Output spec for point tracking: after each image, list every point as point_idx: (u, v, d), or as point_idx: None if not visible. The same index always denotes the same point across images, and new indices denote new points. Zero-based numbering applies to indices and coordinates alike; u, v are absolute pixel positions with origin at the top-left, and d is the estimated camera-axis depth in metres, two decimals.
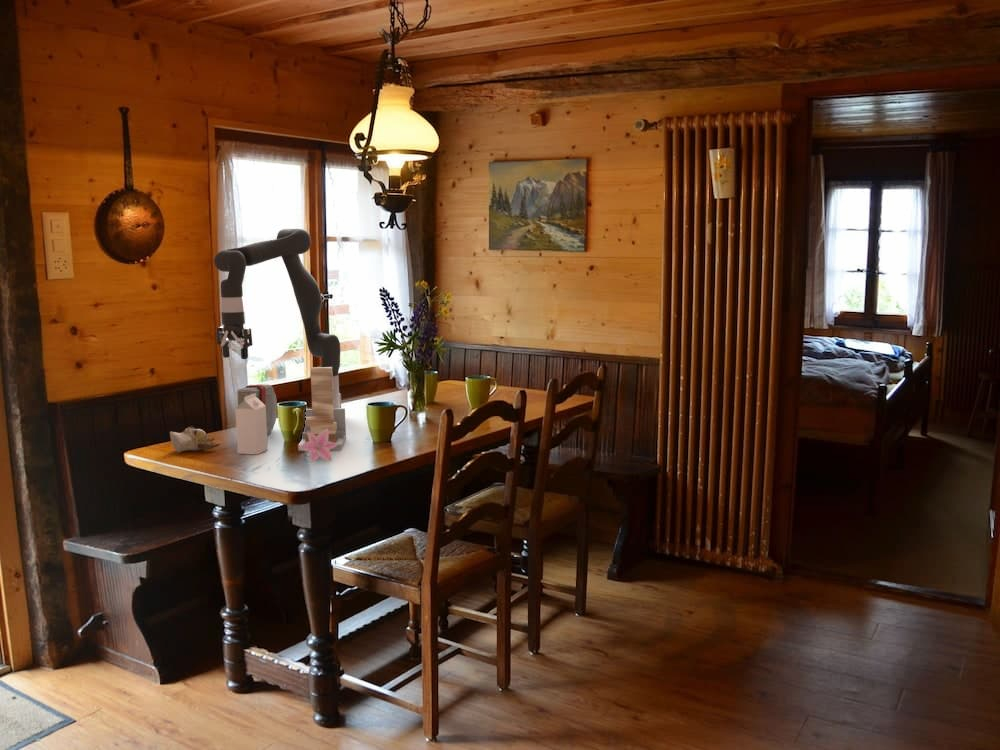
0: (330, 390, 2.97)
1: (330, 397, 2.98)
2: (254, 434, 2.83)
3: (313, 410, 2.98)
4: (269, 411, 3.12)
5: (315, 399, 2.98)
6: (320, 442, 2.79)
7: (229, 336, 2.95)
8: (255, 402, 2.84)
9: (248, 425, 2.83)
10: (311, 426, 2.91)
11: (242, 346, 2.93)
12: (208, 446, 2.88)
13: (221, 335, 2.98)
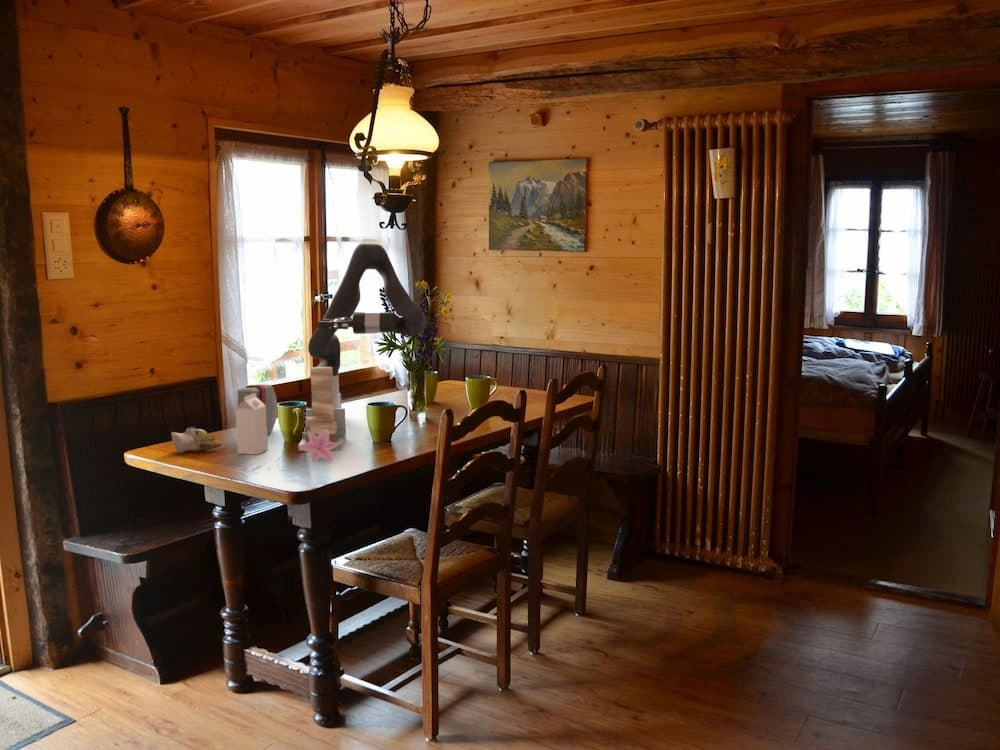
0: (330, 390, 2.97)
1: (330, 397, 2.98)
2: (254, 434, 2.83)
3: (313, 410, 2.98)
4: (269, 411, 3.12)
5: (315, 399, 2.98)
6: (321, 442, 2.79)
7: None
8: (255, 402, 2.84)
9: (248, 425, 2.83)
10: (311, 426, 2.91)
11: None
12: (210, 446, 2.88)
13: None
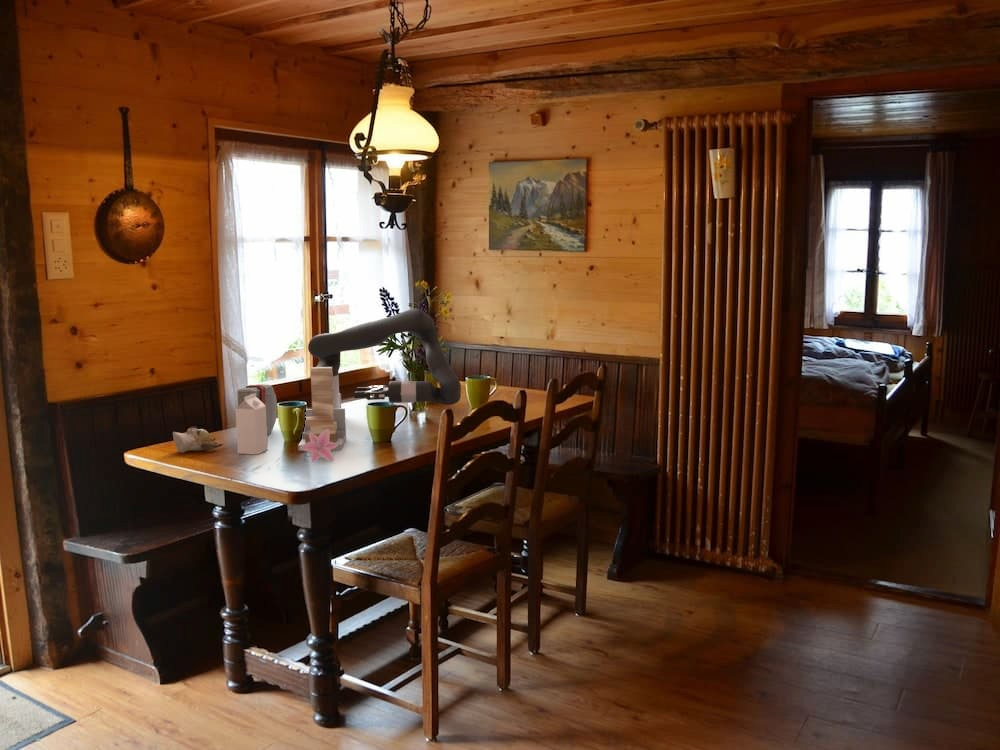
0: (330, 390, 2.97)
1: (330, 397, 2.98)
2: (254, 434, 2.83)
3: (313, 410, 2.98)
4: (269, 411, 3.12)
5: (315, 399, 2.98)
6: (322, 442, 2.79)
7: None
8: (255, 402, 2.84)
9: (248, 425, 2.83)
10: (311, 426, 2.91)
11: None
12: (212, 446, 2.88)
13: None
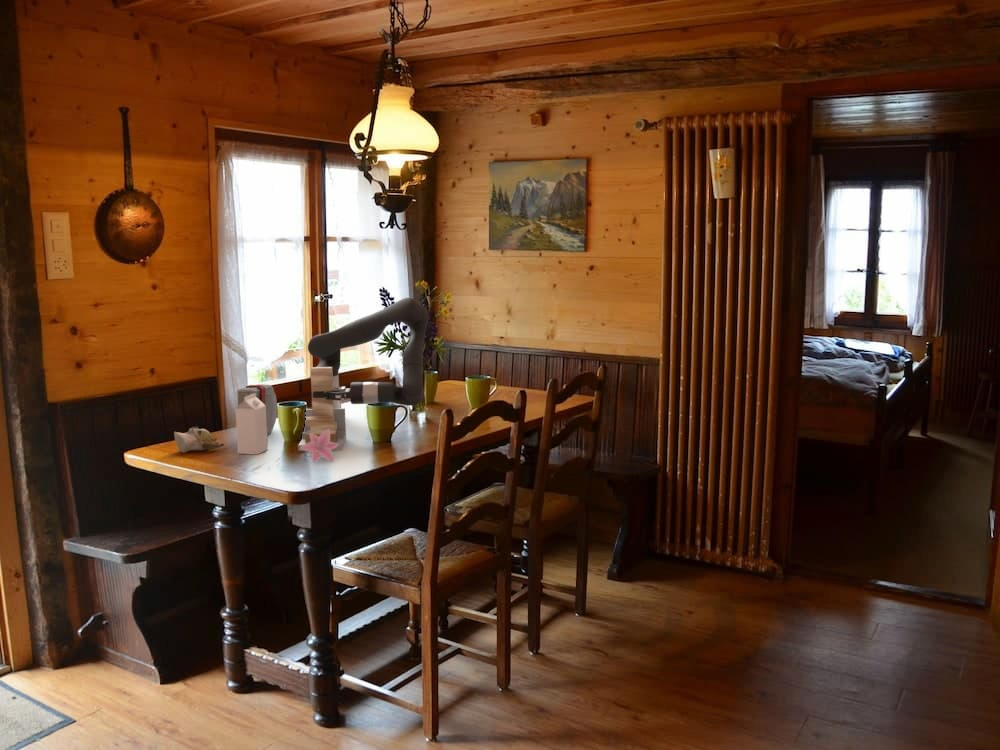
0: (330, 390, 2.97)
1: None
2: (254, 434, 2.83)
3: (313, 410, 2.98)
4: (269, 411, 3.12)
5: (315, 399, 2.98)
6: (322, 442, 2.79)
7: None
8: (255, 402, 2.84)
9: (248, 425, 2.83)
10: (311, 426, 2.91)
11: None
12: (213, 446, 2.88)
13: None
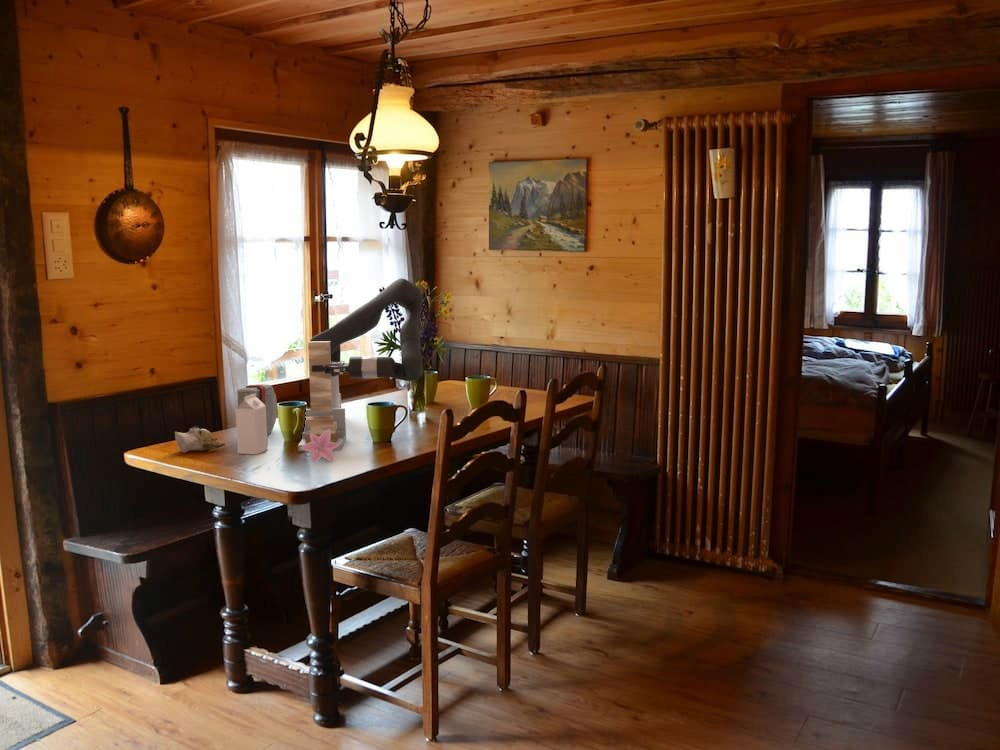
0: (328, 364, 2.96)
1: None
2: (254, 434, 2.83)
3: (311, 384, 2.97)
4: (269, 411, 3.12)
5: (313, 373, 2.96)
6: (323, 443, 2.78)
7: None
8: (255, 402, 2.84)
9: (248, 425, 2.83)
10: (311, 426, 2.91)
11: None
12: (214, 446, 2.89)
13: None
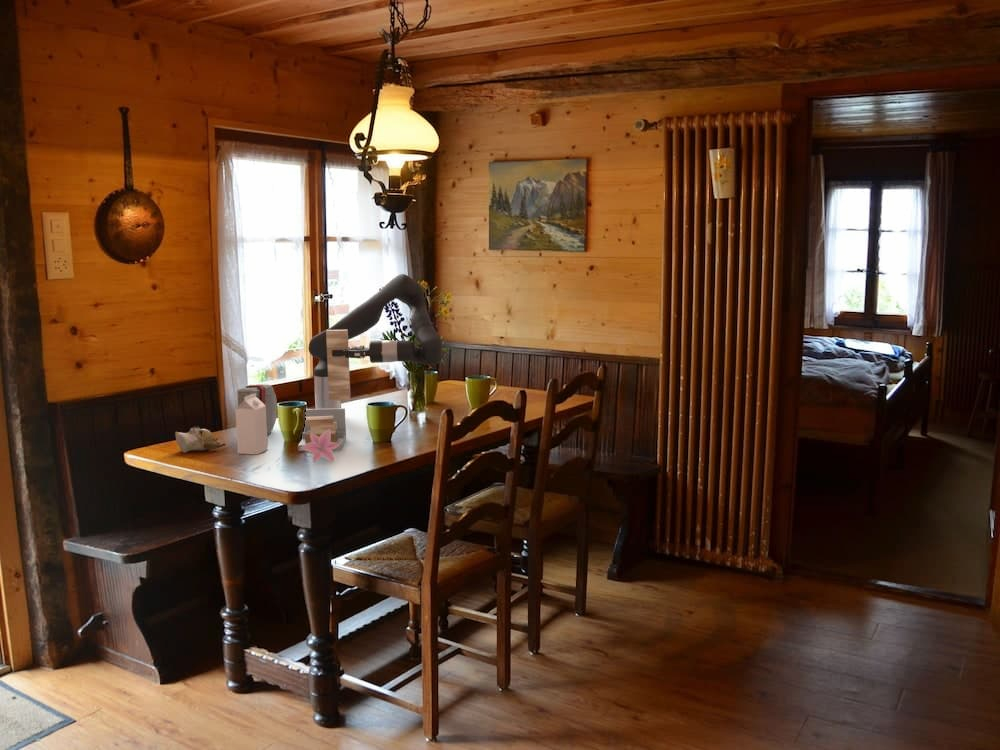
0: None
1: (346, 360, 2.96)
2: (254, 434, 2.83)
3: (329, 373, 2.96)
4: (269, 411, 3.12)
5: (331, 362, 2.96)
6: (323, 443, 2.78)
7: None
8: (255, 402, 2.84)
9: (248, 425, 2.83)
10: (311, 426, 2.91)
11: None
12: (214, 446, 2.89)
13: None
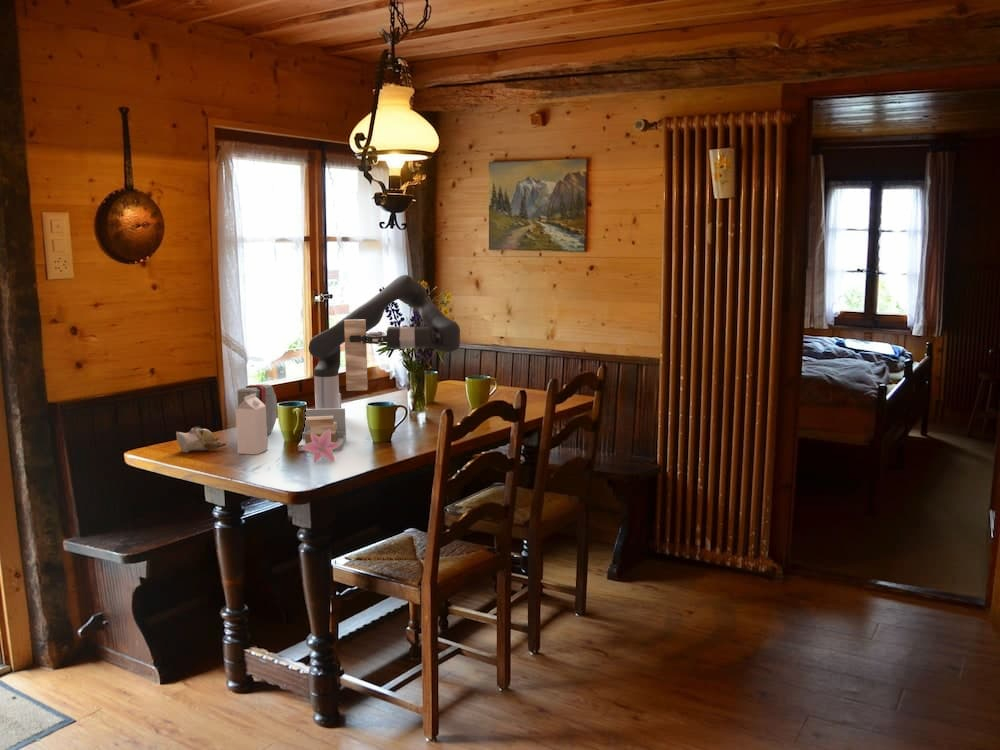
0: None
1: (364, 350, 2.96)
2: (254, 434, 2.83)
3: (346, 363, 2.96)
4: (269, 411, 3.12)
5: (349, 351, 2.96)
6: (323, 443, 2.78)
7: None
8: (255, 402, 2.84)
9: (248, 425, 2.83)
10: (311, 426, 2.91)
11: None
12: (215, 446, 2.89)
13: None
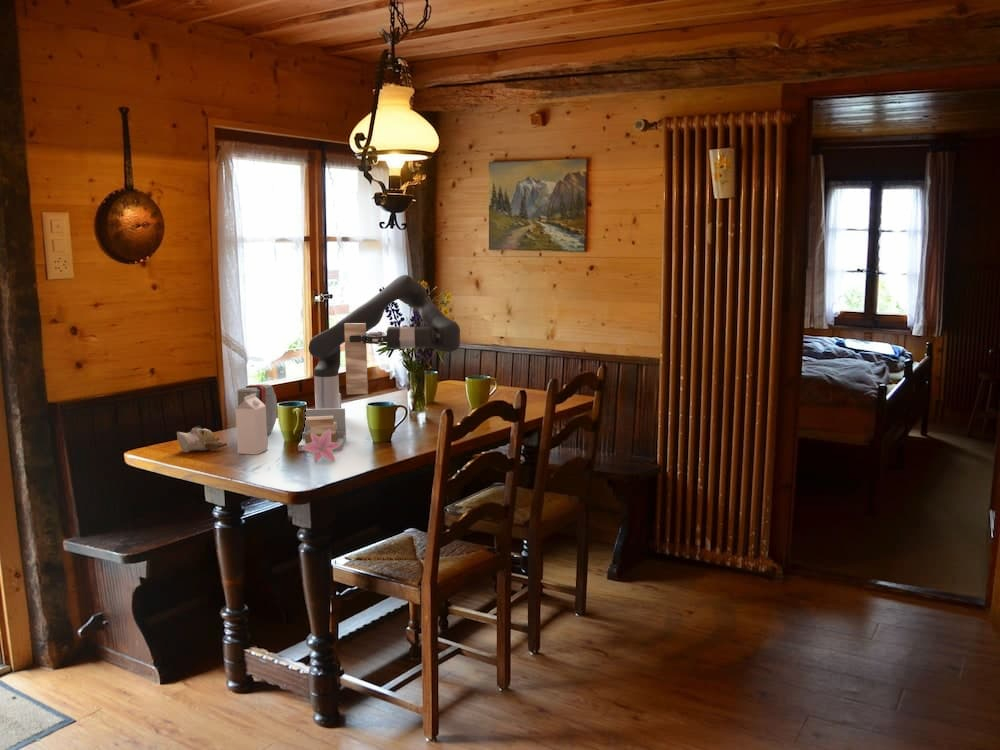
0: (364, 346, 2.96)
1: (364, 353, 2.96)
2: (254, 434, 2.83)
3: (346, 366, 2.97)
4: (269, 411, 3.12)
5: (349, 355, 2.96)
6: (323, 443, 2.78)
7: None
8: (255, 402, 2.84)
9: (248, 425, 2.83)
10: (311, 426, 2.91)
11: None
12: (216, 446, 2.89)
13: None
